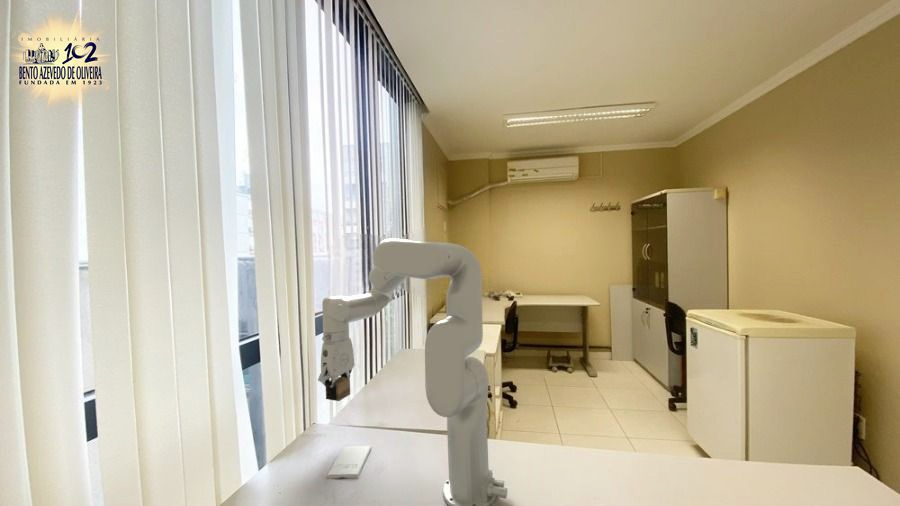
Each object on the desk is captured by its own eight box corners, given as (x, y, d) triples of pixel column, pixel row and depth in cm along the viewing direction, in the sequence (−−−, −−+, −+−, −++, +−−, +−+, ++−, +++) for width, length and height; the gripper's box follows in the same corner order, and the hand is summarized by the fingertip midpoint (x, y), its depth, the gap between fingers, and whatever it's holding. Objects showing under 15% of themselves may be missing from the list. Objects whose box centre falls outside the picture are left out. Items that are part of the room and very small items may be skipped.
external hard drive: (371, 451, 94) (358, 479, 82) (344, 451, 95) (326, 480, 82) (371, 445, 94) (357, 473, 82) (344, 446, 95) (326, 474, 82)
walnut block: (350, 394, 99) (349, 378, 99) (339, 401, 94) (338, 384, 94) (337, 392, 101) (337, 376, 101) (325, 399, 96) (325, 382, 96)
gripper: (325, 344, 88) (327, 409, 88) (363, 330, 104) (365, 386, 104) (305, 342, 91) (307, 406, 91) (345, 329, 107) (347, 383, 107)
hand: (338, 394), depth 97 cm, fingers closed on walnut block, 5 cm apart
